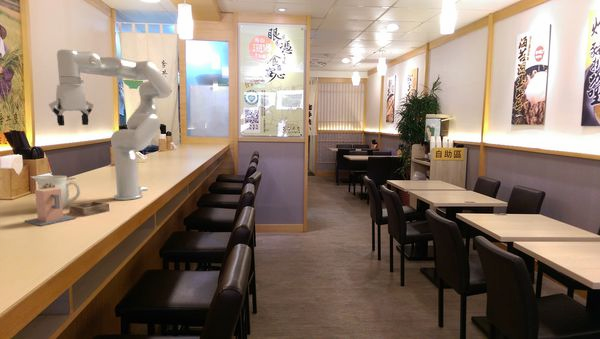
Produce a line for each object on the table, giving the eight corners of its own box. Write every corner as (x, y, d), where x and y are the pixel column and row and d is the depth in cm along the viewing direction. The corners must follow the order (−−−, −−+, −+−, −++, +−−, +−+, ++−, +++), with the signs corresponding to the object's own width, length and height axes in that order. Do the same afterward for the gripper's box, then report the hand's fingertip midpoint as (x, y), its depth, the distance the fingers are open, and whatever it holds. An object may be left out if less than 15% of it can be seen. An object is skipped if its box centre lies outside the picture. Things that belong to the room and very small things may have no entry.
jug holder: (94, 207, 172) (94, 200, 171) (109, 210, 166) (109, 203, 166) (69, 213, 163) (68, 205, 163) (84, 216, 158) (83, 208, 157)
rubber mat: (58, 214, 160) (58, 213, 160) (75, 218, 154) (75, 217, 154) (24, 221, 150) (24, 220, 150) (41, 226, 144) (41, 224, 144)
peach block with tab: (54, 216, 156) (52, 187, 155) (67, 219, 152) (65, 189, 150) (37, 219, 151) (35, 190, 150) (50, 222, 147) (48, 192, 145)
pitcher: (77, 210, 168) (74, 176, 166) (28, 212, 165) (24, 178, 163) (85, 204, 179) (82, 173, 177) (39, 206, 175) (36, 174, 173)
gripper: (85, 83, 174) (88, 124, 176) (42, 81, 160) (46, 125, 162) (96, 82, 170) (99, 124, 172) (52, 80, 156) (56, 125, 158)
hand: (73, 125), depth 167 cm, fingers open, 9 cm apart
